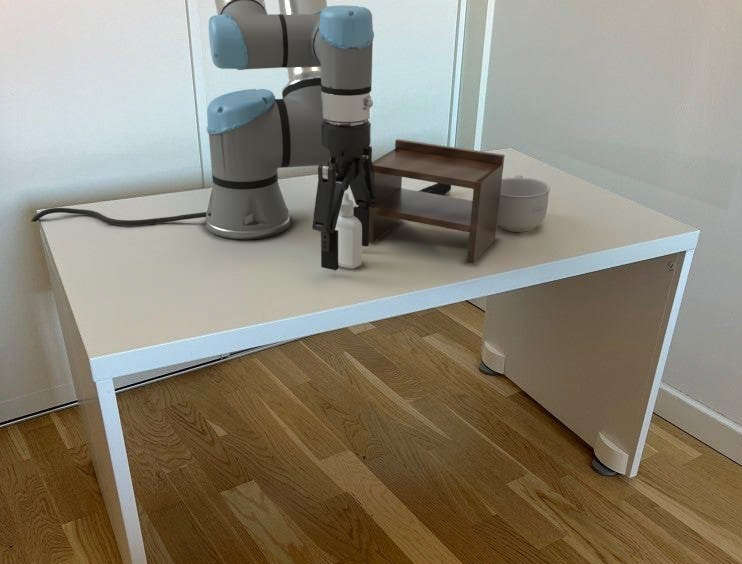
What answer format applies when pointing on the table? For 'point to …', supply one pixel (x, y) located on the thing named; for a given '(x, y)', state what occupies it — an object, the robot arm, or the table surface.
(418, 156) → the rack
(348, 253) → the eye dropper bottle
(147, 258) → the table surface
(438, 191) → the electric trimmer
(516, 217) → the teacup
